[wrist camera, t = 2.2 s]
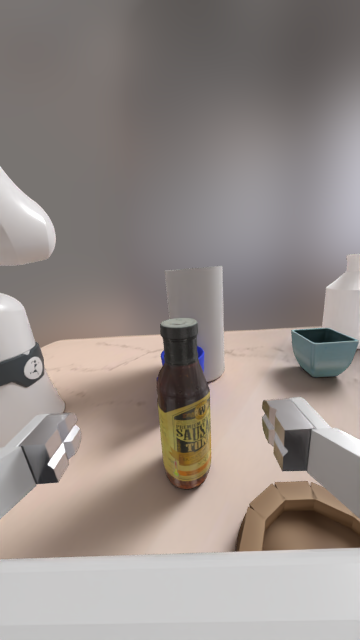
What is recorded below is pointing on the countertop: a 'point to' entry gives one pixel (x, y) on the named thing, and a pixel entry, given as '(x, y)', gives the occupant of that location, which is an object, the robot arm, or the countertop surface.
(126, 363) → the countertop surface
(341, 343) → the flower pot
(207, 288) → the cylinder vase
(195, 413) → the sauce bottle
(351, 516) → the tray
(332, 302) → the bottle
